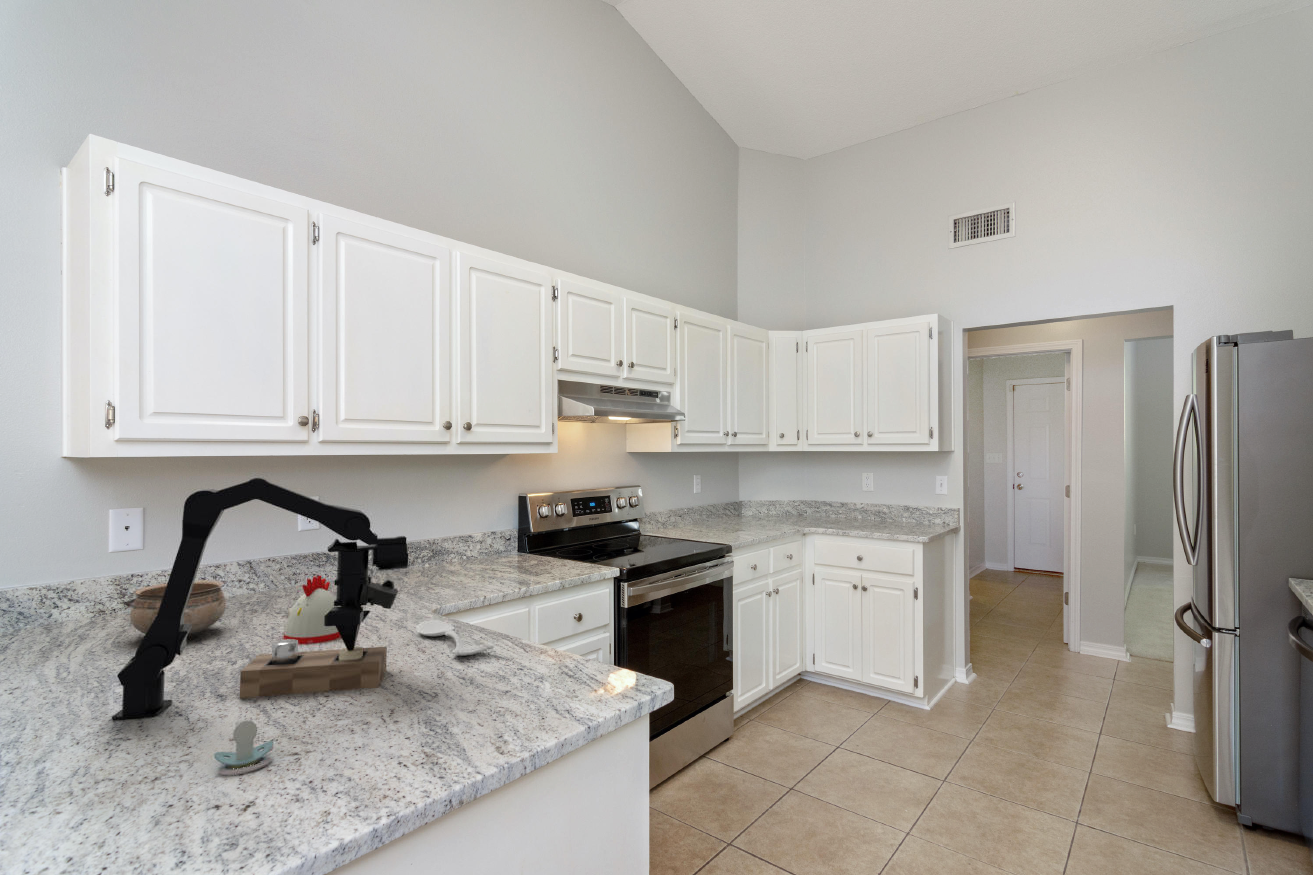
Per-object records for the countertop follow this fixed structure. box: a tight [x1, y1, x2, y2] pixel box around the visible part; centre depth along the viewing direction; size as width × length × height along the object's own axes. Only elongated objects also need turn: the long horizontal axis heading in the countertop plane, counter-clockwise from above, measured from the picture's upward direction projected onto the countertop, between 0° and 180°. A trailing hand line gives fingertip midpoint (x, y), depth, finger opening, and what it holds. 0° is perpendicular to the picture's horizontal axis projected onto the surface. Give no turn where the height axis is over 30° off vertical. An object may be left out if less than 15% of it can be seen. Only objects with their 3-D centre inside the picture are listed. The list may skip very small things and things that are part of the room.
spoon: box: [415, 619, 494, 657], centre depth 152 cm, size 9×32×4 cm, turn 38°
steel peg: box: [271, 639, 299, 665], centre depth 124 cm, size 4×4×5 cm
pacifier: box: [214, 720, 274, 776], centre depth 92 cm, size 7×6×6 cm
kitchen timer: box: [282, 574, 341, 645], centre depth 158 cm, size 14×14×15 cm
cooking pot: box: [129, 579, 227, 640], centre depth 155 cm, size 25×19×12 cm
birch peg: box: [338, 646, 364, 660], centre depth 127 cm, size 4×4×5 cm
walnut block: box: [239, 646, 388, 699], centre depth 125 cm, size 10×24×5 cm, turn 105°
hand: (350, 649), depth 127 cm, fingers closed, pressing on birch peg
